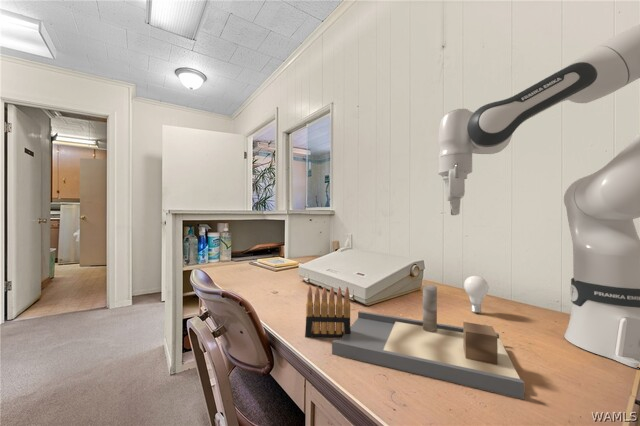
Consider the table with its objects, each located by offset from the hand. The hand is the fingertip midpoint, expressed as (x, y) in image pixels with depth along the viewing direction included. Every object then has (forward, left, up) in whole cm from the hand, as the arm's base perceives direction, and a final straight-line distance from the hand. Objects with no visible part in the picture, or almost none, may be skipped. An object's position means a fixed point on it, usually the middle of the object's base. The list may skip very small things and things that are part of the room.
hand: (454, 215), depth 77 cm
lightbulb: (-6, -6, -29) cm, 31 cm away
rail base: (+8, +25, -29) cm, 39 cm away
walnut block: (-3, +27, -27) cm, 38 cm away
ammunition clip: (+28, +28, -30) cm, 49 cm away
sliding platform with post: (+3, +25, -28) cm, 38 cm away
